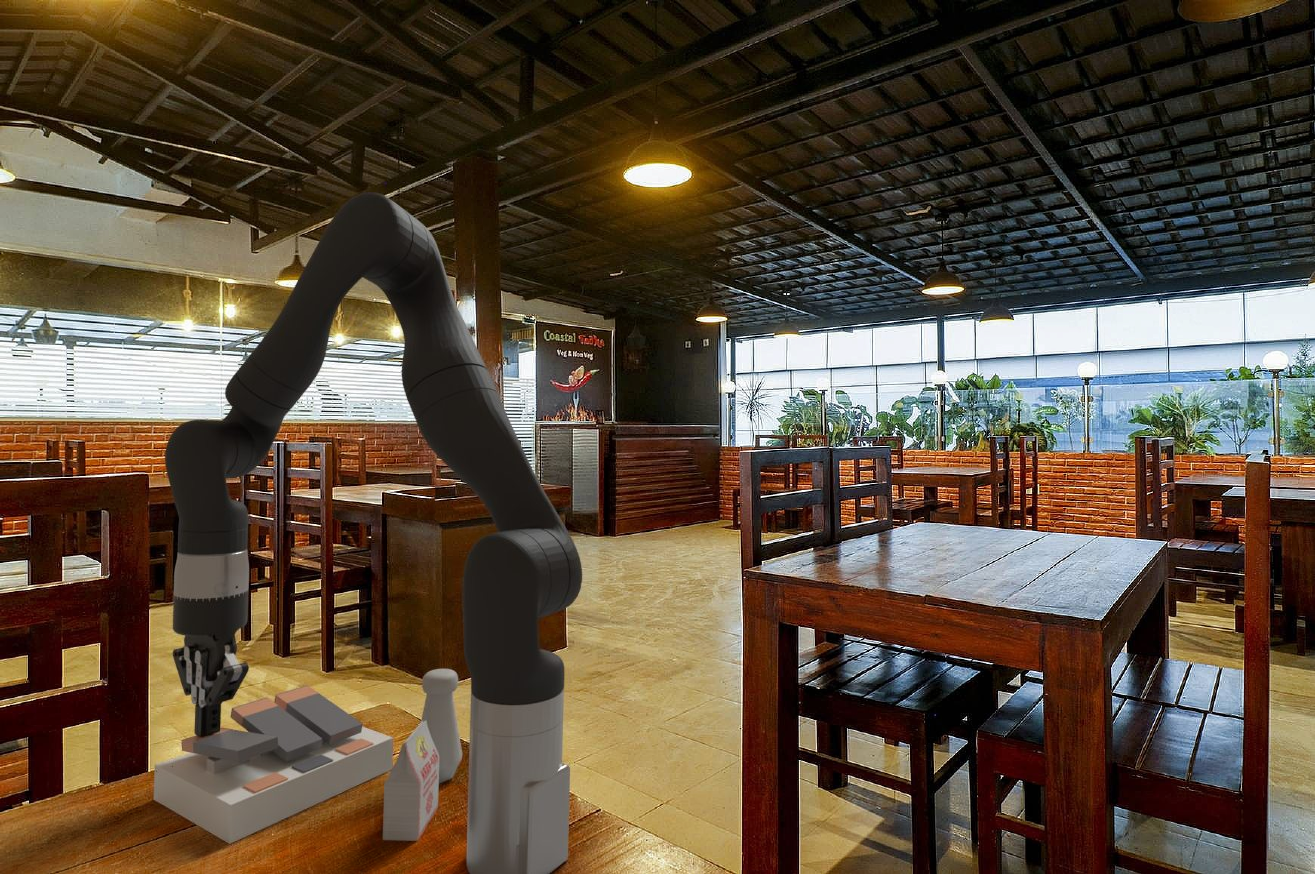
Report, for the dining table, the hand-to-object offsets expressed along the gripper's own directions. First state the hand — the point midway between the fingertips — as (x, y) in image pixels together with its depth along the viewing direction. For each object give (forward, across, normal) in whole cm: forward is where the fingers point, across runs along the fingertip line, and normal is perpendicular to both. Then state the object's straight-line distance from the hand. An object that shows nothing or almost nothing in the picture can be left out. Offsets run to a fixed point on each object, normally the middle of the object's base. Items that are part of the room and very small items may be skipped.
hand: (207, 734), depth 84 cm
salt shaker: (+6, -20, -18) cm, 27 cm away
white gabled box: (+6, -26, -8) cm, 28 cm away
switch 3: (0, -5, -11) cm, 12 cm away
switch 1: (0, -5, 0) cm, 5 cm away
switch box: (+6, -6, -5) cm, 10 cm away
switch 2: (0, -5, -5) cm, 7 cm away
